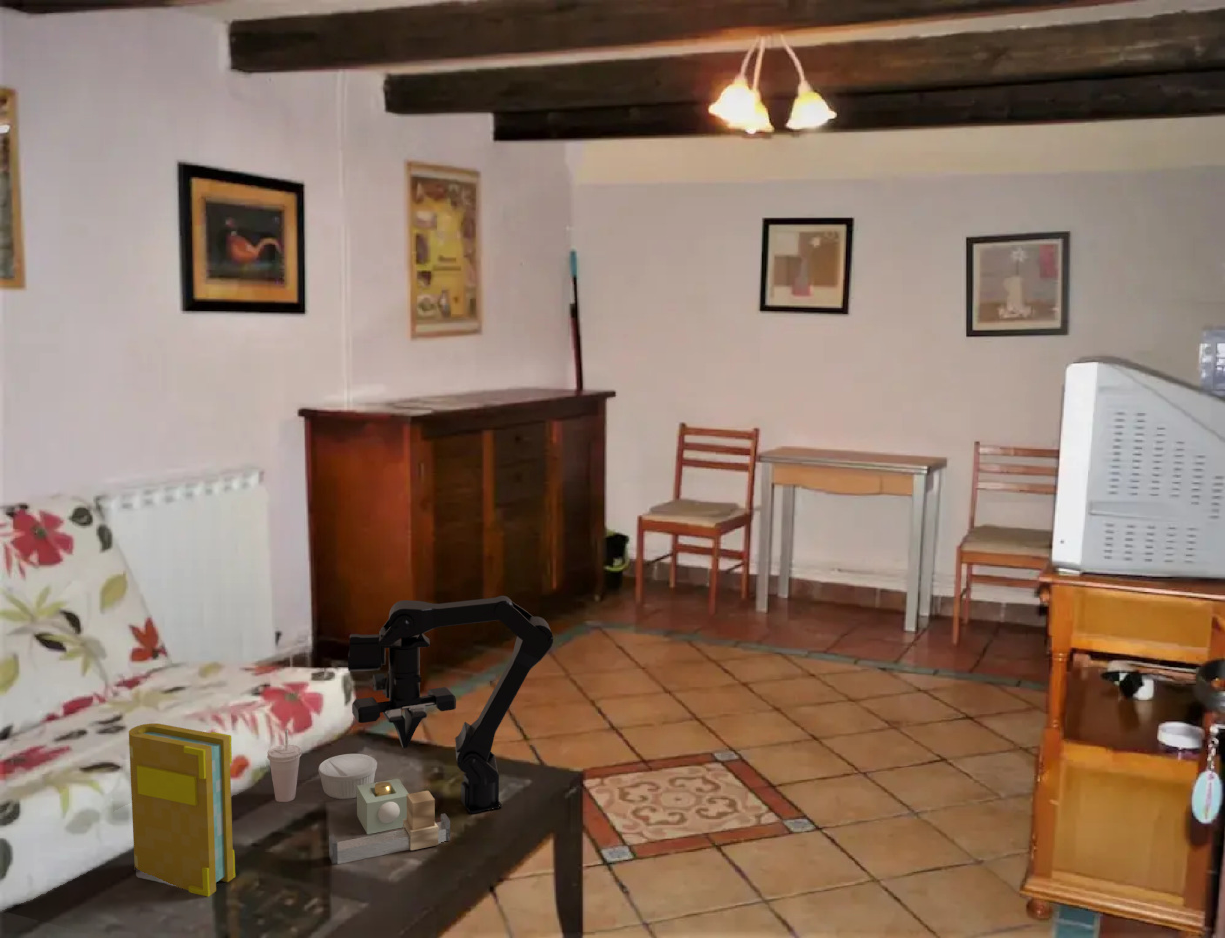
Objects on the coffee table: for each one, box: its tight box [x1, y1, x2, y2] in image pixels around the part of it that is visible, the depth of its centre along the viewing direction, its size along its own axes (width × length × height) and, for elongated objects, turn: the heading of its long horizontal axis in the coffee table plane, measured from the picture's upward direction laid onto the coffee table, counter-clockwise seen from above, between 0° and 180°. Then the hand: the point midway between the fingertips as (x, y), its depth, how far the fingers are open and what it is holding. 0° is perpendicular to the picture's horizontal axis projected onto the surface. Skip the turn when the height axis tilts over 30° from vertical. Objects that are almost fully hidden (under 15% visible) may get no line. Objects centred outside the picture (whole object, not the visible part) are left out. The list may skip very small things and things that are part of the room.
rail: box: [328, 812, 451, 866], centre depth 191 cm, size 21×3×4 cm, turn 116°
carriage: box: [402, 790, 439, 851], centre depth 193 cm, size 5×5×8 cm
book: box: [128, 723, 236, 898], centre depth 178 cm, size 17×7×25 cm, turn 71°
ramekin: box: [317, 753, 378, 800], centre depth 214 cm, size 11×11×5 cm
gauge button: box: [375, 781, 391, 797], centre depth 201 cm, size 3×3×4 cm
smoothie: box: [267, 728, 302, 803], centre depth 209 cm, size 6×6×14 cm
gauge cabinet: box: [356, 778, 410, 835], centre depth 201 cm, size 8×8×6 cm
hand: (404, 747), depth 204 cm, fingers closed
